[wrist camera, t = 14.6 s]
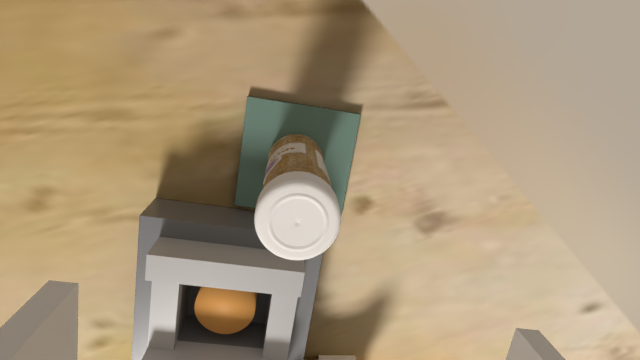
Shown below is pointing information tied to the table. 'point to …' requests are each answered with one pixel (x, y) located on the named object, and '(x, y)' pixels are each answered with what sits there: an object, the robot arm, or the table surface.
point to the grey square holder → (216, 286)
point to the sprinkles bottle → (297, 201)
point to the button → (225, 309)
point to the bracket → (336, 357)
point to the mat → (289, 118)
